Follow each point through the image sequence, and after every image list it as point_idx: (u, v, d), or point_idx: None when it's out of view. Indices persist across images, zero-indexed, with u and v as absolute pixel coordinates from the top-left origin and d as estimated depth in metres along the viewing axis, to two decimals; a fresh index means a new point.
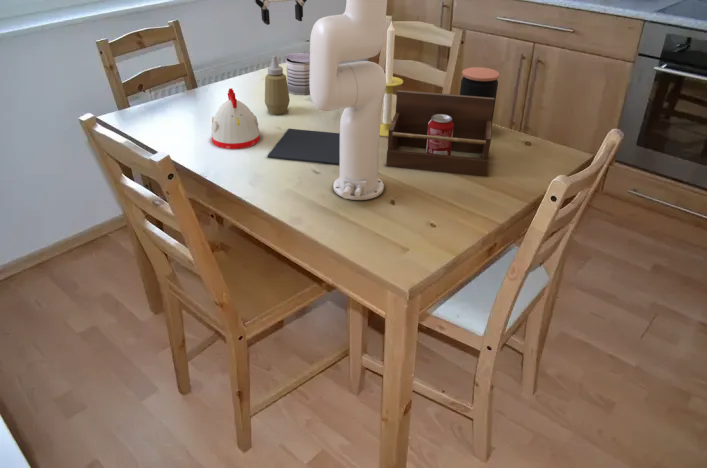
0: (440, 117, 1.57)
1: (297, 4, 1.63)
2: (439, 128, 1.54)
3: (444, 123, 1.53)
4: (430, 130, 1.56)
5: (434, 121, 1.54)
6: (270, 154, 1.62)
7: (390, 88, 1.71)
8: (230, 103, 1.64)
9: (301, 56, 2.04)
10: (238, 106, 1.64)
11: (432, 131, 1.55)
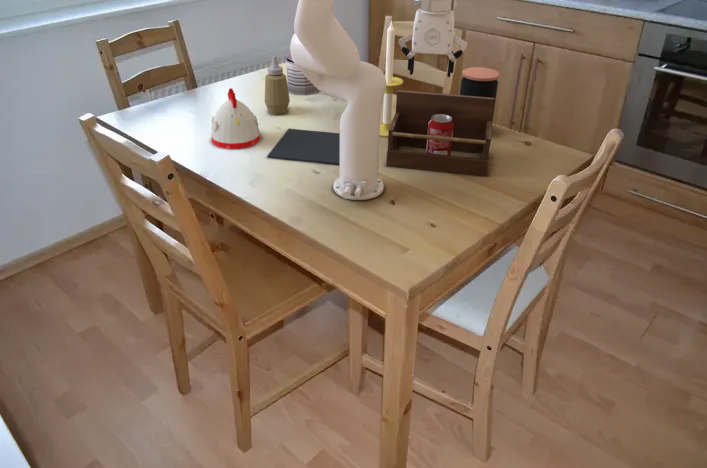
0: (440, 117, 1.57)
1: None
2: (439, 128, 1.54)
3: (444, 123, 1.53)
4: (430, 130, 1.56)
5: (434, 121, 1.54)
6: (270, 154, 1.62)
7: (390, 88, 1.71)
8: (230, 103, 1.64)
9: None
10: (238, 106, 1.64)
11: (432, 131, 1.55)
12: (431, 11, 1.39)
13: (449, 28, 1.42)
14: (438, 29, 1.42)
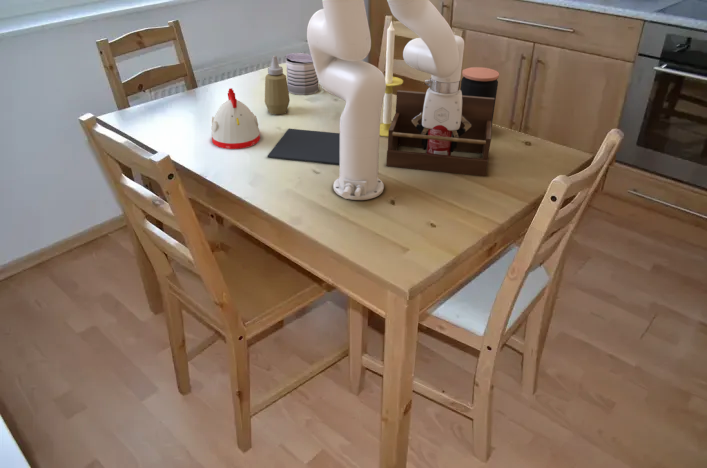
0: None
1: (453, 135, 1.57)
2: (439, 128, 1.54)
3: None
4: (430, 130, 1.56)
5: None
6: (270, 154, 1.62)
7: (390, 88, 1.71)
8: (230, 103, 1.64)
9: (301, 56, 2.04)
10: (238, 106, 1.64)
11: (432, 131, 1.55)
12: (440, 92, 1.48)
13: (458, 107, 1.50)
14: (447, 108, 1.51)
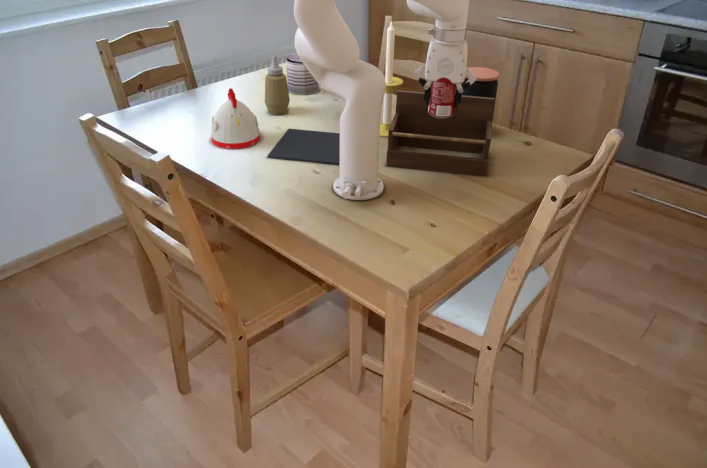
0: None
1: (457, 90, 1.50)
2: (442, 80, 1.47)
3: None
4: (433, 83, 1.49)
5: None
6: (270, 154, 1.62)
7: (390, 88, 1.71)
8: (230, 103, 1.64)
9: None
10: (238, 106, 1.64)
11: (436, 84, 1.48)
12: (445, 41, 1.41)
13: (463, 58, 1.43)
14: (451, 59, 1.44)
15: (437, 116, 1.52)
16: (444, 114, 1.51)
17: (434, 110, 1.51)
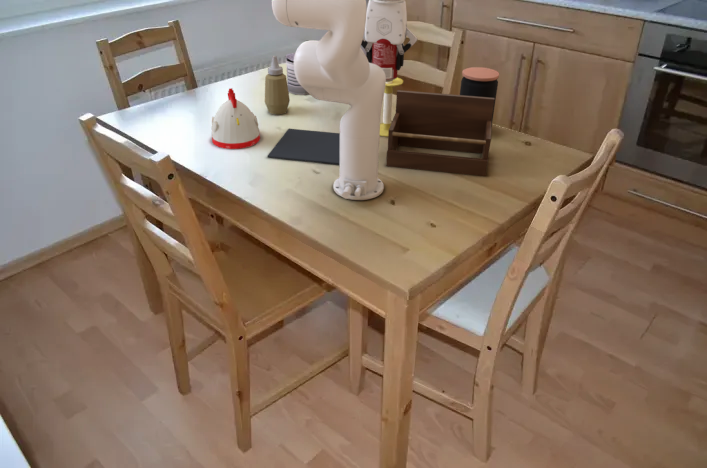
0: None
1: (399, 52, 1.48)
2: (382, 41, 1.45)
3: None
4: (374, 45, 1.47)
5: None
6: (270, 154, 1.62)
7: (390, 88, 1.71)
8: (230, 103, 1.64)
9: None
10: (238, 106, 1.64)
11: (376, 45, 1.46)
12: (381, 0, 1.39)
13: (401, 17, 1.41)
14: (389, 18, 1.42)
15: None
16: None
17: None
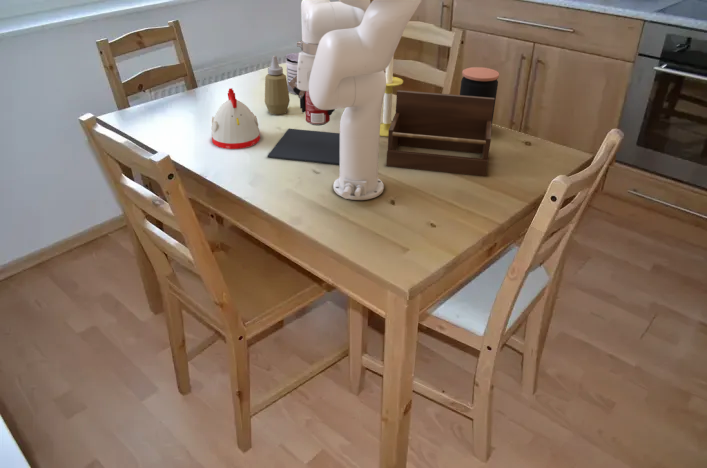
0: None
1: None
2: None
3: None
4: (306, 92, 1.57)
5: None
6: (270, 154, 1.62)
7: (390, 88, 1.71)
8: (230, 103, 1.64)
9: None
10: (238, 106, 1.64)
11: (308, 93, 1.57)
12: (310, 54, 1.50)
13: None
14: None
15: (312, 123, 1.61)
16: (318, 121, 1.60)
17: (309, 117, 1.60)
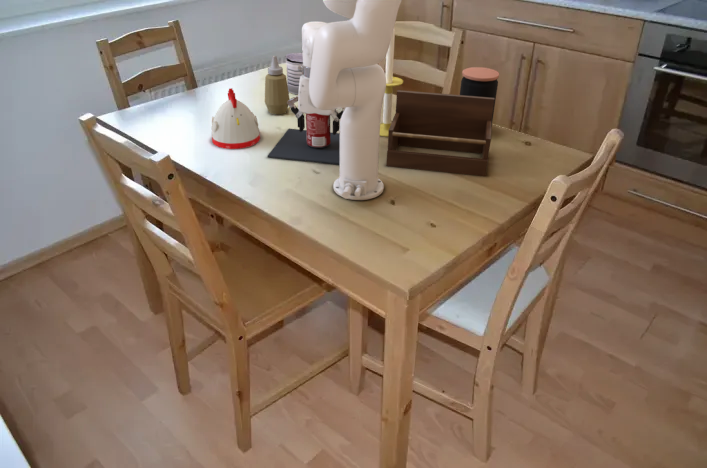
0: None
1: None
2: (313, 114, 1.59)
3: None
4: (307, 117, 1.61)
5: None
6: (270, 154, 1.62)
7: (390, 88, 1.71)
8: (230, 103, 1.64)
9: (301, 56, 2.04)
10: (238, 106, 1.64)
11: (308, 117, 1.60)
12: None
13: None
14: None
15: (313, 146, 1.64)
16: (319, 144, 1.64)
17: (310, 141, 1.64)
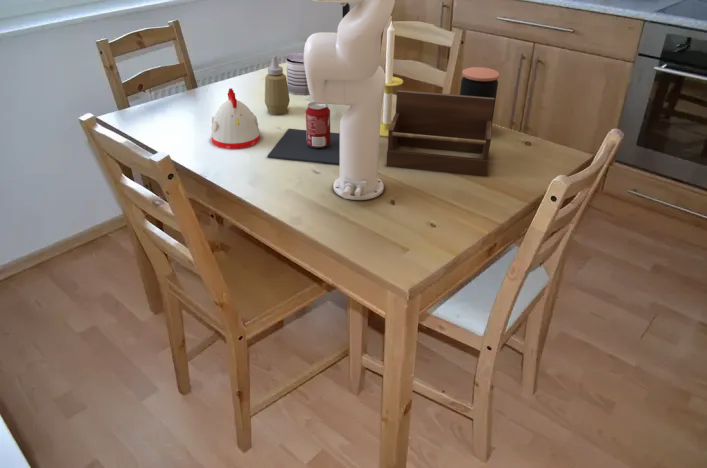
0: (317, 104, 1.62)
1: None
2: (313, 114, 1.59)
3: (318, 110, 1.59)
4: (307, 117, 1.61)
5: (309, 108, 1.60)
6: (270, 154, 1.62)
7: (390, 88, 1.71)
8: (230, 103, 1.64)
9: (301, 56, 2.04)
10: (238, 106, 1.64)
11: (308, 117, 1.60)
12: None
13: None
14: None
15: (313, 146, 1.64)
16: (319, 144, 1.64)
17: (310, 141, 1.64)
